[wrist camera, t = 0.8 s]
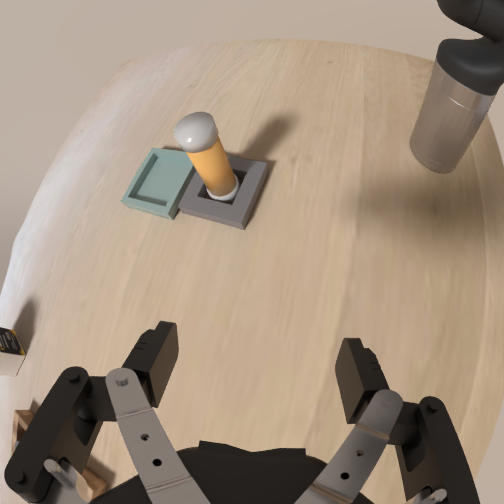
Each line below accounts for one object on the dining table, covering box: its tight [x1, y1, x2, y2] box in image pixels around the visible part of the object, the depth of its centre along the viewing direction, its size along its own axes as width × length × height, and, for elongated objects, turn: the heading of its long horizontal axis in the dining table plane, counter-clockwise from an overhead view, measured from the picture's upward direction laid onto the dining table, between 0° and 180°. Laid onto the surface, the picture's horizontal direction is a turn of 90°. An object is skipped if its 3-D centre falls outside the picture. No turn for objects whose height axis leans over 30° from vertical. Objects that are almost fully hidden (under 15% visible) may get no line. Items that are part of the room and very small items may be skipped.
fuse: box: [174, 112, 241, 204], centre depth 34 cm, size 5×5×14 cm
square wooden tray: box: [12, 410, 108, 502], centre depth 26 cm, size 22×22×4 cm
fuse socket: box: [178, 155, 269, 230], centre depth 40 cm, size 10×10×2 cm
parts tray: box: [121, 148, 196, 220], centre depth 43 cm, size 11×10×2 cm
